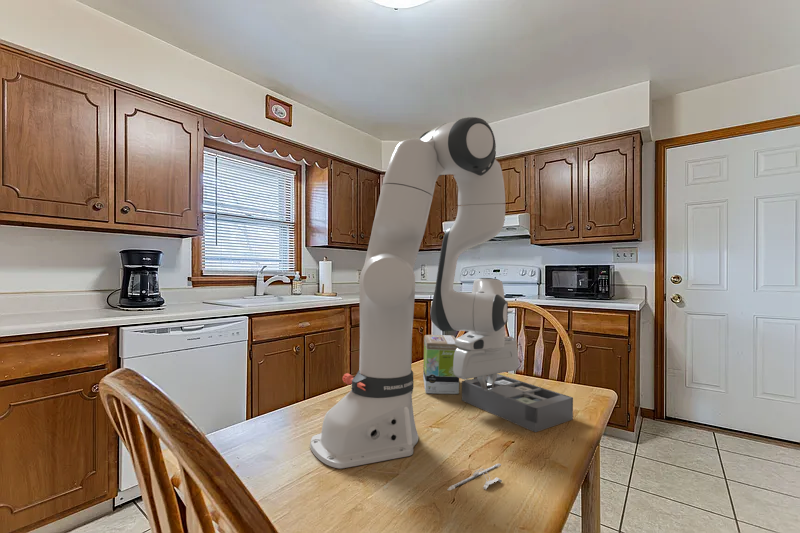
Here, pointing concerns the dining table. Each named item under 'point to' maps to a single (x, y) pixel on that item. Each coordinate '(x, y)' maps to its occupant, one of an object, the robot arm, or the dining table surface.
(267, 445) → the dining table surface
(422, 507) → the dining table surface
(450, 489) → the picture light
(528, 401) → the key sage
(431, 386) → the tea box
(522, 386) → the key cream
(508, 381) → the key grey
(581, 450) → the dining table surface
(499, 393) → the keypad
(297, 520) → the dining table surface
